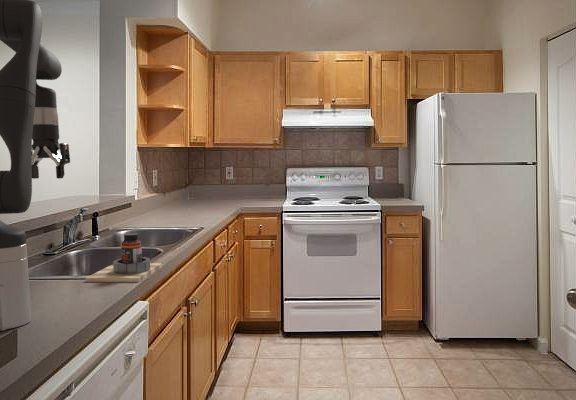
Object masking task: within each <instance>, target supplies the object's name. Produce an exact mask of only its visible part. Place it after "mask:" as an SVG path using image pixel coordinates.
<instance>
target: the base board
mask: <svg viewBox="0 0 576 400" xmlns="http://www.w3.org/2000/svg"><path fill="white" fill-rule="evenodd" d="M162 267H163V264H162V263H160V262H156V263H154V262H153V263H151V262H150V270H149V271H146V272H142V273H136V274H117V273H114V270H113V263H112V264H111V265H108V266H106V267H105V268H102V269H100V270H99V271H96V272H95V273H92V274H91V275H88V276H86V277H85V282H86V283H88V282H89V283H90V282H91V283H93V282H95V283H97V282H99V283H103V282H104V283H107V282H108V283H140V282H142V281H143V280H145V279H146V278H147V277H149V276H150V275H152V274H153V273H156V271H158V270H159V269H161V268H162Z"/></svg>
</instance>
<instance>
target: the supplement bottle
mask: <svg viewBox="0 0 576 400" xmlns="http://www.w3.org/2000/svg"><path fill="white" fill-rule="evenodd" d="M120 247H121V259H122V263H138V262H142V257H143V255H142V253H143V251H142V242H141V240H140V239H139V237H138V233H136V232H129V233H125V234H124V235H123V241H121V242H120Z"/></svg>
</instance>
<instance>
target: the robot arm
mask: <svg viewBox="0 0 576 400" xmlns="http://www.w3.org/2000/svg"><path fill="white" fill-rule="evenodd" d="M42 32H43V13H42V9H41V7H40V5H39V4H38V3H37V2H36V1H34V0H0V41H1V42H2V43H3V44H4V45H6V46H7V47H8V48H10V49H11V50H13V52H14V53H15V54H14V55H13V57H11V59H10V60H9V61H8V62H7V63H6V64H5V65H4V66H3V67H2V68H1V69H0V138H1V139H2V140H3V142H4V143H5V146H6V147H7V150H8V152H9V158H10V169H9V170H0V215H4V214H5V215H8V214H12V215H13V214H23V213H25V212H27V211H28V210H29V208H30V205H31V202H32V194H33V180H34V179H35V180H36V179H40V175H39V174H40V173H39V171H40V170H39V169H40V168H39V166H38V165H39V163H40V161H42V160H43V159H51V160H52V161H53V162H54V163H55V164H56V166H55V171H56V173H55V174H56V179H64V177H65V165H67V164H70V163H71V157H70V146H69V143H68V142H67V143H65V142H61V143H59V140H60V128H59V127H60V126H59V114H58V108H57V107H58V105H57V93H56V91H55V89H53V88H50V87H47V86H46V87H44V86H41V85H39V84H38V82H37V80H39V81H40V80H41V81H42V80H43V81H44V80H45V81H53V80H54V81H55V80H57V79H59V78H60V77H61V74H62V73H63V72H62V71H63V69H62V64H61V61H60V60H59V58H58V57H57V56H56V55H55V54H54V53H53V52H51V51H49V50H48V49H47V48H46V46H45V45H44V44H43V42H42V41H41V37H42ZM27 247H28V246H27V233H26V232H25V231H24V230H23V229H21V228H18V227H14V226H11V225H9V224H6V223H5V222H3V221H2V220H1V219H0V331H3V332H4V331H6V330H10V329H13V328H19V327H22V326H24V325H26V324H28V323H30V322H31V321H32V312H31V309H32V308H31V296H30V278H29V266H28V265H29V264H28V248H27Z"/></svg>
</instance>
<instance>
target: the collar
mask: <svg viewBox="0 0 576 400" xmlns="http://www.w3.org/2000/svg"><path fill="white" fill-rule="evenodd" d="M150 263H151V258H150V257H147V256H146V257H145V256H142V262H138V263H122V258H118V259H116V260H115V259H114V260H113V261H112V264H113V270H114V273H117V274H136V273H142V272H146V271H149V270H150Z"/></svg>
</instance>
